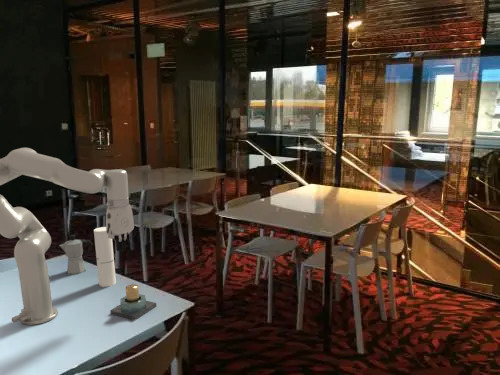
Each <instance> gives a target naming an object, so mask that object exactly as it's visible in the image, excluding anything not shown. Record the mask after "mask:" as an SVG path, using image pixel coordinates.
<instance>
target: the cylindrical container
mask: <svg viewBox="0 0 500 375" xmlns="http://www.w3.org/2000/svg"><path fill="white" fill-rule="evenodd" d="M93 235H94V246H95V256H96V257H95V258H96V266H97V274H98V275H97V277H98V285H99V287H103V288H106V287H111V286H115V284H116V283H117V279H116V277H117V276H116V266H115V259H114V258H115V254H114V245H113V239H110V238H108V234H107V231H106V226H101V227H95V229H93Z"/></svg>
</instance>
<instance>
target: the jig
mask: <svg viewBox="0 0 500 375" xmlns="http://www.w3.org/2000/svg"><path fill="white" fill-rule="evenodd" d="M156 307H157V302H153V301H149V300H147V298H146V294H142V293H141V294H140V293H139V301H137V302H133V303H128V302H127V298H126V295H125V296H123V297H121V298H120V304H119V305H117V306H115V307H113V308H112V309H110V315H112V316H118V317H121V318H125V319H128V320H132V321H136V320H138V319H139V318H140V317H143V316H144V315H145V314H147V313H148V312H150V311H151V310H153V309H155V308H156Z"/></svg>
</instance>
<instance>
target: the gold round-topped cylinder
mask: <svg viewBox="0 0 500 375" xmlns="http://www.w3.org/2000/svg"><path fill="white" fill-rule="evenodd" d="M139 294H140V292H139V285H138V284H136V283H135V284H134V283H132V284H127V285H126V286H125V296H126V298H127V302H128V303H133V302H137V301H139Z"/></svg>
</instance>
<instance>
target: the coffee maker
mask: <svg viewBox="0 0 500 375" xmlns="http://www.w3.org/2000/svg"><path fill="white" fill-rule="evenodd" d="M69 237H70V240H67V241H65V242H63V243H61V244H59V245H58V246H59V247H60V248H61V250H63V252H64V253H65V256H66V257H67V275H71V276H72V275H79V274H82V273H84V272H86V267H85V262H84V259H83V256H82V255H83V254H84V253H83V252H84V247H86V246H88V245H89V246H88V248H87V250H86V252H85V256H88V254H89V253H90V251H91V250H92V247H93V245H94V244H93V242H92V241H91V240H90V239H76V234H70V235H69Z"/></svg>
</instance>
